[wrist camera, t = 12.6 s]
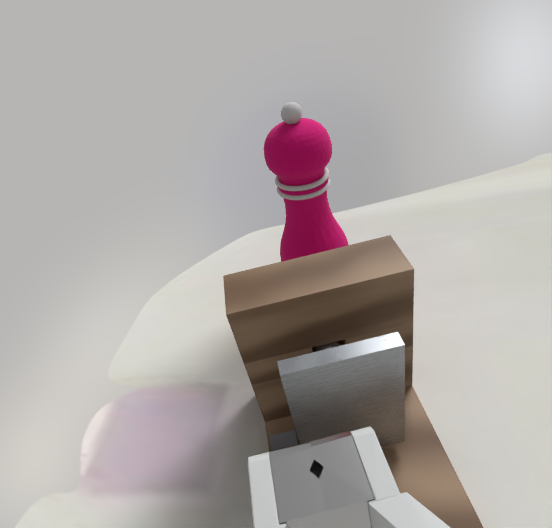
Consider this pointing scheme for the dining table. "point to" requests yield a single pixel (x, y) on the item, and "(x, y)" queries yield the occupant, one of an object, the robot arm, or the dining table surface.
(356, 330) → the gauge housing
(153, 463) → the dining table surface
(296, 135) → the pepper mill
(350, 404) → the plunger
